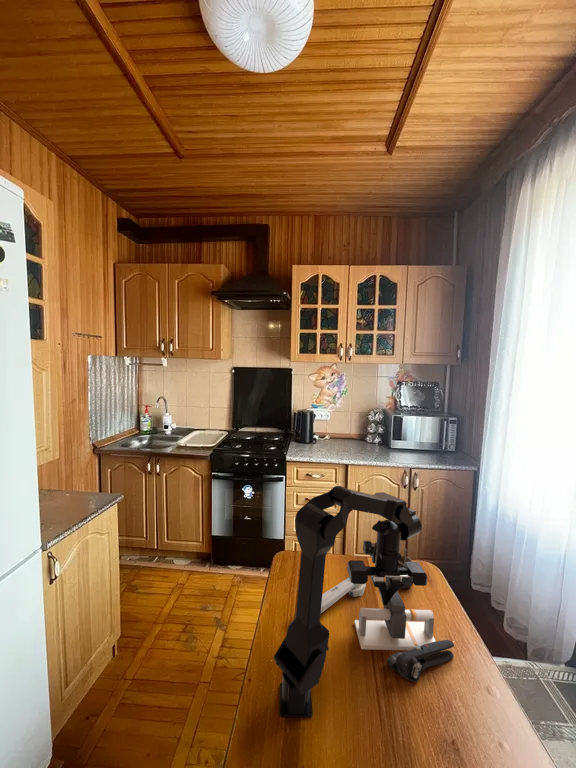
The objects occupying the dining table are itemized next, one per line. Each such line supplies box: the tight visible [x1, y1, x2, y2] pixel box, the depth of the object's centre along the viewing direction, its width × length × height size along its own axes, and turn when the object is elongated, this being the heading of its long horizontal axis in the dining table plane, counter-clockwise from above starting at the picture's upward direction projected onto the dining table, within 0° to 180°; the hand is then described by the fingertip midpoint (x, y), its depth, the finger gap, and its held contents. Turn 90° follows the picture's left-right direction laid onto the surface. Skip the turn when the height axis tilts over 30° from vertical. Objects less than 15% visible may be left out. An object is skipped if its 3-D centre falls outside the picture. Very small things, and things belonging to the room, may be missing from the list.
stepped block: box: [382, 590, 407, 639], centre depth 87 cm, size 8×3×8 cm, turn 1°
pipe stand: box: [354, 607, 436, 651], centre depth 87 cm, size 8×19×7 cm, turn 91°
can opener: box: [386, 639, 455, 683], centre depth 80 cm, size 18×7×6 cm, turn 112°
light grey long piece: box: [321, 576, 367, 614], centre depth 98 cm, size 5×7×25 cm
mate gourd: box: [399, 547, 414, 590], centre depth 108 cm, size 7×8×10 cm
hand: (384, 604), depth 87 cm, fingers closed
